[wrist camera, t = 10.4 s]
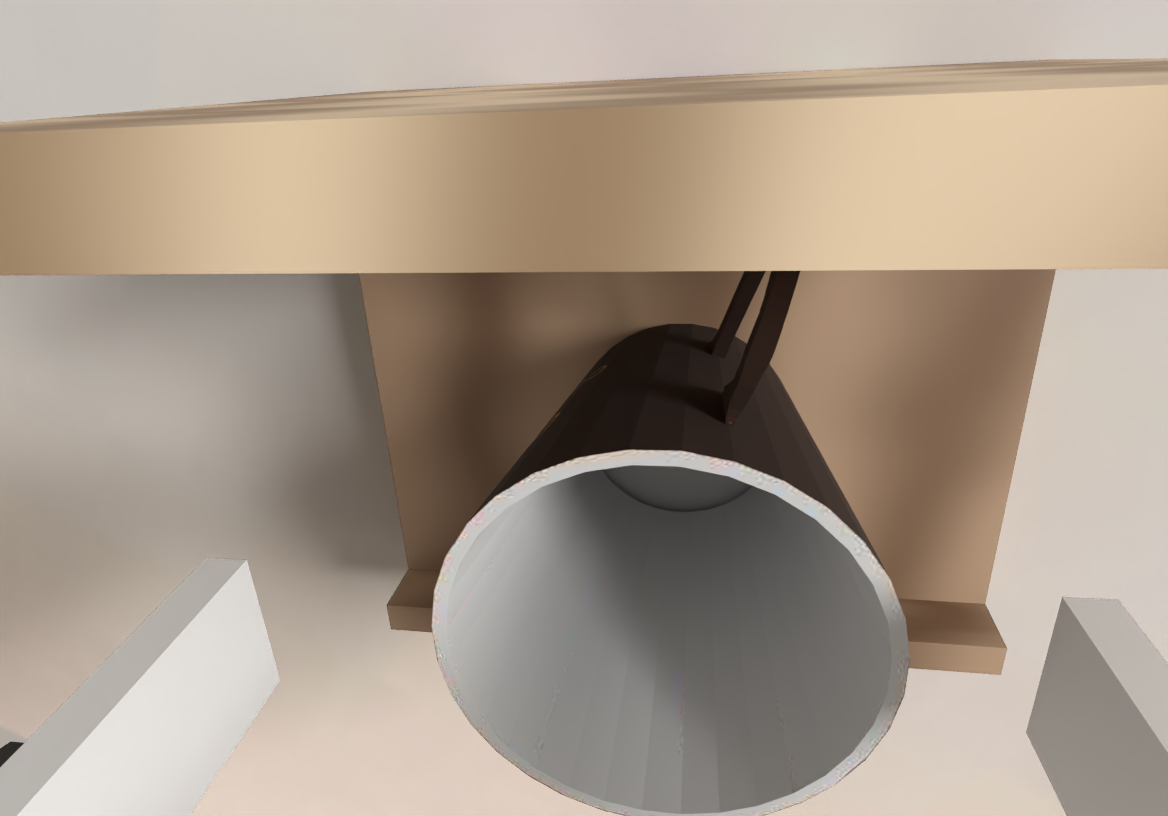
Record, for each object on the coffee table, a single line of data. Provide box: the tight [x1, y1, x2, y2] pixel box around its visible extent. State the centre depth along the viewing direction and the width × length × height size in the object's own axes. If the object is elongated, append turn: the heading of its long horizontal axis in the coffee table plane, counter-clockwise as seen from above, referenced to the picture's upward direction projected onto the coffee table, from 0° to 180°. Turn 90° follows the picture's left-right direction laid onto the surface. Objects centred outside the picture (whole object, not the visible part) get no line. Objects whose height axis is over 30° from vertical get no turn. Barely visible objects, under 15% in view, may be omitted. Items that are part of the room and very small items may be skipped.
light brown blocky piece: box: [0, 59, 1168, 675], centre depth 17 cm, size 19×16×16 cm
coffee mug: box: [432, 271, 910, 816], centre depth 18 cm, size 12×9×10 cm
